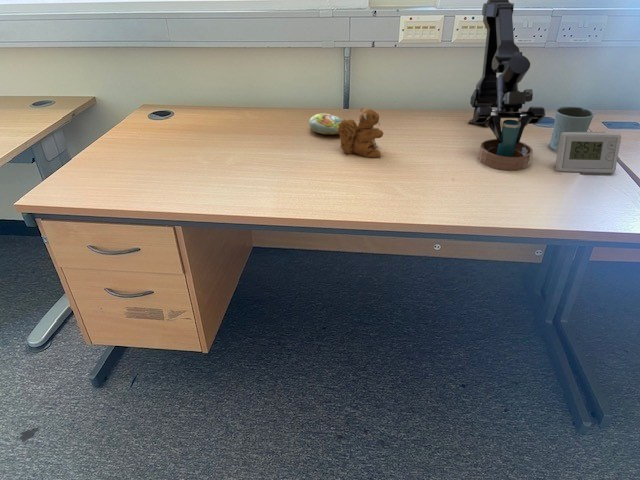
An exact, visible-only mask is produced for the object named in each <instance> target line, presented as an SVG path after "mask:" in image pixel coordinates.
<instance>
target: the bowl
mask: <svg viewBox="0 0 640 480" xmlns="http://www.w3.org/2000/svg"><path fill="white" fill-rule="evenodd" d="M498 145H499V142H498V140H497V138H490V139H486V140H484V141H483V142H481V144H480V148H479V153H478V161H479V162H480V163H481V164H483V165H484V166H486V167H489V168H492V169H495V170H500V171H512V172H513V171H522V170H524V169H527V168H528V167H529V166H530V164H531V161H532V157H533V153H534V152H533V151H534V149H533V148H532V147H531V146H530V145H528V144H527V143H526V142H523V141H520V142H519V143H518V144H517V142H516V146H515V151H514V155H513V157H505V156H499V155H497V150H498Z"/></svg>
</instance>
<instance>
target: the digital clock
mask: <svg viewBox="0 0 640 480" xmlns="http://www.w3.org/2000/svg"><path fill="white" fill-rule="evenodd" d="M621 140H622V134H621V133H619V132H605V131H587V132H563V133H561V134H560V137H559V143H558V150H557V151H556V159H555V164H554V169H555V172H560V173H579V174H581V175H582V174H584V175H601V174H614V173H615V172H616V169H617V163H618V158H619V151H620V145H621Z"/></svg>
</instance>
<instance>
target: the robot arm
mask: <svg viewBox="0 0 640 480" xmlns="http://www.w3.org/2000/svg"><path fill="white" fill-rule="evenodd" d="M514 5H515V3H514V2H510V1H509V0H487V1H486V2H484V3H483V4H482V9H481V16H482V23H483V25H484V26H485V28H486V38H485V47H484V55H483V64H482V73H481V74H482V75H481V78H480V79H479V80H478V81H477V83H476V85H475V89H474V90H473V92H472V94H471V96H470V102H469V103H470V106H471V108H473V115H472V119H471V120H469V121H468V124H470V125H474V126H481V127H488V128H489V129H490V130H491V132H492V133H493V135H494V137H495V139H497V140H498V142H499V143H501V142H502V134H501V131H502V126H501V121H502V119H517V121H519V122H521V126H520V129H519V134H518V138H517V144H518V143H519V142H521V138H522V135H523V133H524V129H525V127H527V126H528V125H537V124H539V123H540V122H541V121H542V120H543V119H544V117H545V116H546V109H545V108H544V106H529V108H528V109H527V110H525V111H524V110H522V111H521V109H522V108H523V105H526V103H530V102H532V101H533V98H534V97H533V96H534V95H533V94H534V93H533V92H534V91H533V89H532V88H531V89H530V88H529V89H528V88H526V89H524V90H523V91H521V90H519V83H521V82H522V80H523V79H524V77H525V76H526V74H527V73H528V71H529V69H530V67H531V61H530V60H529V58H528V57H526V56H524V55H523V51H520V48H519V46H518V45H517V44H516V43H515V37H514V22H513V14H514ZM497 74H499V75H498V76H497ZM493 108H497V109H493Z"/></svg>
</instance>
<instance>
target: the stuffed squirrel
mask: <svg viewBox="0 0 640 480" xmlns="http://www.w3.org/2000/svg"><path fill="white" fill-rule="evenodd" d="M341 120H342V121H341V123H339V124H338V126H339V128H338V129H337V130H338V133H339V134H338V135H339V136H340V137H339V139H340V148H341V149H342V151H343V152H344V153H346V154H348V155H351V154H355V153H356V154H357V155H360V156H361V157H362V156H363V157H367V158H379V157H381V156H382V152H381V150H379V149H376V146H377V143H376V139H381V138H382V137H384V131H382V130H381V129H380V128H378V127H374V126H376V125H377V124H378V126H380V125H381V123H380V115H379V112H377V111H375V110H373V109H370V108H361V109H360V114H359V120H358V121H359V122H358V124H357V123H356V122H355V119H341Z"/></svg>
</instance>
